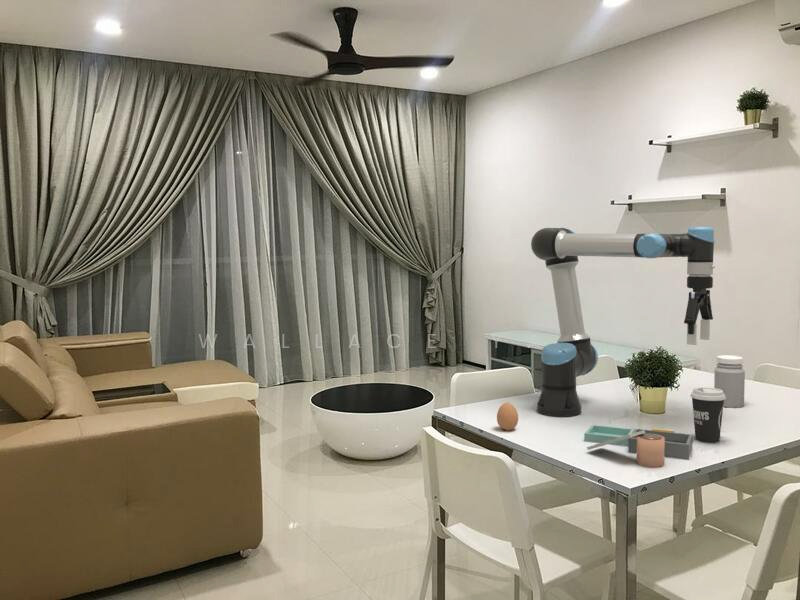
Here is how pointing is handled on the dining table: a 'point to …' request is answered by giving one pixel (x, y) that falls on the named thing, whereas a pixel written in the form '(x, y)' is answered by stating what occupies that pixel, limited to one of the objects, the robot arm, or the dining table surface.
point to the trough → (607, 434)
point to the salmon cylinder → (650, 450)
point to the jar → (730, 380)
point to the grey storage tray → (670, 447)
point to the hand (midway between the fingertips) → (698, 342)
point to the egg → (507, 416)
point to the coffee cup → (707, 413)
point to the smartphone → (616, 439)
